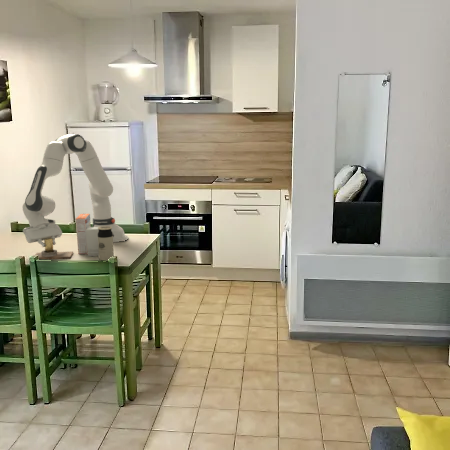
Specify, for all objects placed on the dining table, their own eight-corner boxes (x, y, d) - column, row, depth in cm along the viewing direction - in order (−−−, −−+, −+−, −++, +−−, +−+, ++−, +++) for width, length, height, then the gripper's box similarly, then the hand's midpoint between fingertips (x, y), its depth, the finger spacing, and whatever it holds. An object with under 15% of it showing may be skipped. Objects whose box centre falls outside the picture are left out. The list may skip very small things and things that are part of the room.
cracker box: (82, 247, 308) (80, 213, 303) (92, 247, 308) (90, 213, 304) (77, 254, 294) (75, 218, 290) (88, 254, 294) (86, 218, 290)
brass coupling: (54, 251, 290) (53, 238, 289) (52, 254, 286) (51, 239, 284) (46, 252, 290) (45, 238, 288) (44, 254, 286) (43, 240, 284)
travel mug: (107, 256, 289) (106, 225, 285) (116, 259, 284) (115, 227, 280) (96, 259, 283) (94, 227, 279) (105, 262, 278) (103, 229, 274)
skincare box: (104, 252, 296) (102, 226, 293) (101, 256, 290) (100, 229, 287) (89, 253, 296) (88, 226, 293) (86, 256, 290) (85, 229, 286)
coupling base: (73, 253, 295) (72, 248, 295) (70, 258, 285) (69, 253, 284) (37, 254, 293) (36, 249, 292) (32, 260, 282) (32, 254, 281)
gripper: (23, 225, 282) (33, 245, 277) (57, 219, 296) (67, 238, 292) (19, 231, 285) (30, 252, 281) (53, 226, 300) (63, 245, 296)
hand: (49, 245), depth 287 cm, fingers closed on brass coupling, 4 cm apart
